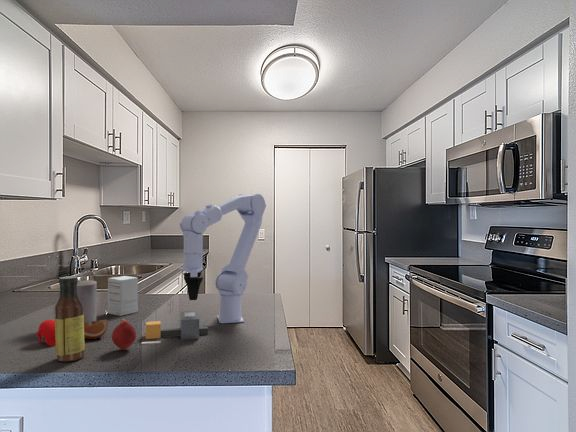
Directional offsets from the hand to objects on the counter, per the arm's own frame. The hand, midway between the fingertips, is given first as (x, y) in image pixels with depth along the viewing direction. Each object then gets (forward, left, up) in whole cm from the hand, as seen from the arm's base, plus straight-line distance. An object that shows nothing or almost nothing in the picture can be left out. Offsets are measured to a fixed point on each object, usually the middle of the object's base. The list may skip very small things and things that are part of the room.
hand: (192, 297), depth 130 cm
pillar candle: (-12, -34, -10) cm, 37 cm away
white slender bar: (+11, -12, -10) cm, 19 cm away
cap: (+5, -38, -10) cm, 40 cm away
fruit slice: (+3, -28, -10) cm, 30 cm away
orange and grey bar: (+5, -4, -10) cm, 12 cm away
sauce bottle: (+20, -30, -10) cm, 37 cm away
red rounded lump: (+16, -18, -10) cm, 26 cm away
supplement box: (-28, -23, -10) cm, 38 cm away
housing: (+5, -1, -10) cm, 11 cm away
